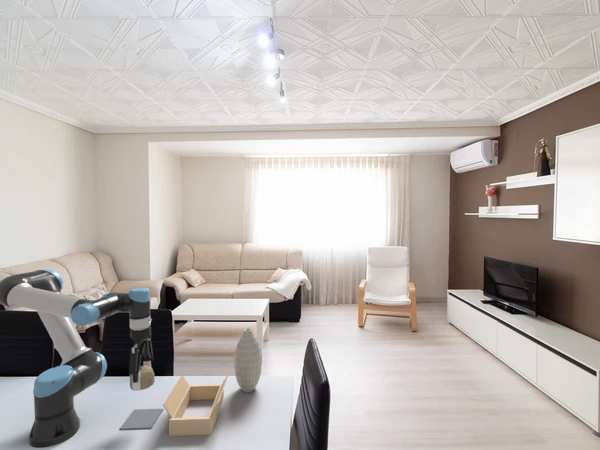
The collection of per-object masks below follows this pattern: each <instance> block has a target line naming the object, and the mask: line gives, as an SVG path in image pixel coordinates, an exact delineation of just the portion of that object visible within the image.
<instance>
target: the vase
mask: <svg viewBox="0 0 600 450" xmlns="http://www.w3.org/2000/svg"><path fill="white" fill-rule="evenodd" d="M262 358H263V357H262V352H261V346H260V343H259V341H258V339H257V338H256V336H255V335H254V333H253V329H252V328H244V329H243V332H242V334H241V335H240V337H239V339H238V341H237V344H236V347H235V350H234V357H233V359H234V360H233V363H234V365H233V368H234V369H233V370H234V374H235V375H234V376H235V379H236V382H237V384H238V386H239V388H240V389H241V391H242V392H243V393H251V392H254V390H255V389H256V388H257V385H258V384H259V382H260V378H261V375H262V374H261V373H262V367H263V366H262V363H263V362H262Z"/></svg>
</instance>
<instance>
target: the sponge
mask: <svg viewBox="0 0 600 450" xmlns="http://www.w3.org/2000/svg"><path fill="white" fill-rule="evenodd" d="M139 372H140V379H141V389H140V390H139V391H143V390H146V389H149V388H150V387H152V386H153V385H154V383H155V381H156V380H155V372H154V369H153V367H152V366H151V367H150V366H147V365H140V369H139ZM129 387H130V389H131V391H136V390H133V382H132V375H129Z"/></svg>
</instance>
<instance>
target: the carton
mask: <svg viewBox="0 0 600 450" xmlns="http://www.w3.org/2000/svg"><path fill="white" fill-rule="evenodd" d="M229 375H230V374H229V373H227V374H226V376H225V378H224V380H223V382H222V383H219V384H218V383H217V384H213V383H212V384H188V381H187V380H186V378H185V377H184V375H180V378H179V379H178V380H177V382H176V384H175V385H174V387H173V389H172V390H171V392H170V393H169V394H168V396H167V398H166V399H165V401H164V403H162V406H163V409H164V410H165V411H166V412H167V414H168V416H169V419H168V435H169V437H179V436H180V437H182V436H205V435H206V436H207V435H208V436H209V435H212V433H213V429H214V427H215V425H216V421H217V417H218V416H219V412H220V409H221V406H222V404H223V403H222V402H223V400H224V396H225V395H224V388H225V385H226V383H227V381H228V377H229ZM196 400H198V401H200V400H202V401H203V400H214V401H213V403H212V406H211V409H210V412H209V414H208V416H199V417H198V416H197V417H195V416H194V417H193V416H192V417H184V414H185V413H186V410H187V408H188V407H189V404H190V403H191V401H196Z"/></svg>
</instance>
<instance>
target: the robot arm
mask: <svg viewBox="0 0 600 450" xmlns="http://www.w3.org/2000/svg"><path fill="white" fill-rule="evenodd" d="M63 284H64V282H63V278H62V277H61V275H60V274H59V273H58V272H56V271H55V270H53V269H38V270H33V271H29V272H28V271H27V272H24V273H18V274H17V273H16V274H12V275H10V276H6V277H4V278H3V279H1V280H0V305H2V306H4V307H8V308H12V309H21V308H24V309H28V310H33V311H36V312H37V314H38V316H39V318H40V320H41V322H42V323H43V326H44V327H45V328H46V331H47V332H48V334H49V337H50V339H51V340H52V343H53V344H54V346H55V348H56V350H57V351H58V354H59V355H60V357H61V359H62V360H61V363H60V365H58V366H55V367H51V368H48V369H47V370H45V371H43V372H42V373H40V374H39V375H38V376H37V377H36V379H35V380H34V384H33V389H32V390H33V392H32V393H33V401H34V403H33V404H34V405H33V406H34V409H33V410H34V421H33V423H32V427H31V429H30V431H29V432H30V433H29V436H28V444H29V446H31V447H33V448H35V449H37V448H39V449H40V448H41V449H43V448H49V447H52V446H56V445H59V444H61V443H63V442H65V441H66V440H68V439H70V438H72V436H74V435H75V434H76V433H77V432H78V431H79V429H80V428H81V421H80V420H81V419H80V417H79V416H78V414H77V412H76V409H75V407H74V405H75V404H74V403H75V402H74V400H75V399H74V397H75V396H77V395H79V394H81V393H82V392H84V391H85V390H87V389H88V388H89V387H91V386H93V385H95V384H96V383H98V381H100V380H101V379H102V378H104V376H105V375H106V372H107V368H108V363H107V360H106V358H105V356H104V355H103V354H102V353H100V352H97V351H96V352H94V350H93V348H91V347H87V346H86V345H85V342H84V341H83V339H82V338H81V336H80V334H79V332H78V330H77V328H76V326H79V327H85V326H87V325H92V324H94V323H96V322H98V321H101V320H102V319H105V318H108V317H111V316H113V315H115V314H116V313H117V314H118V313H125V314H126V313H129V329H130V330H129V336H130V337H129V338H130V339H131V340H132V341H134V343H133V347H129V367H128V375H129V376H130V375H132V382H133V390H132V391H134V390H135V391H141V390H140V389H141V379H140V372H139V369H140V366H141V362H142V356H143V359H144V361H143V362H142V363H143V365H147V366H150V367H151V368H152V361H153V360H154V352H153V351H154V350H153V344H152V326H151V324H152V323H151V322H152V321H153V319H152V317H151V316H152V315H151V299H152V297H151V294H150V293H151V292H150V291H151V290H150V289H149V288H148V287H136V288H135V287H134V288H132V289H130V290H129V291H128V292H127V293H126V292H107V293H104V294H103V295H102V296H101V297H99V298H97V299H94V300H93V299H92V300H90V299H86V298H81V297H77V296H72V295H69V294H68V295H67V294H63V292H62V290H63V288H64V285H63ZM74 324H75V325H76V326H75V325H74ZM143 365H142V366H143Z"/></svg>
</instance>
